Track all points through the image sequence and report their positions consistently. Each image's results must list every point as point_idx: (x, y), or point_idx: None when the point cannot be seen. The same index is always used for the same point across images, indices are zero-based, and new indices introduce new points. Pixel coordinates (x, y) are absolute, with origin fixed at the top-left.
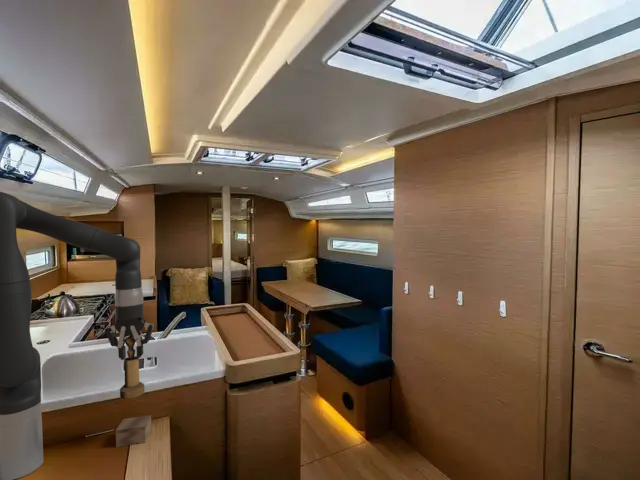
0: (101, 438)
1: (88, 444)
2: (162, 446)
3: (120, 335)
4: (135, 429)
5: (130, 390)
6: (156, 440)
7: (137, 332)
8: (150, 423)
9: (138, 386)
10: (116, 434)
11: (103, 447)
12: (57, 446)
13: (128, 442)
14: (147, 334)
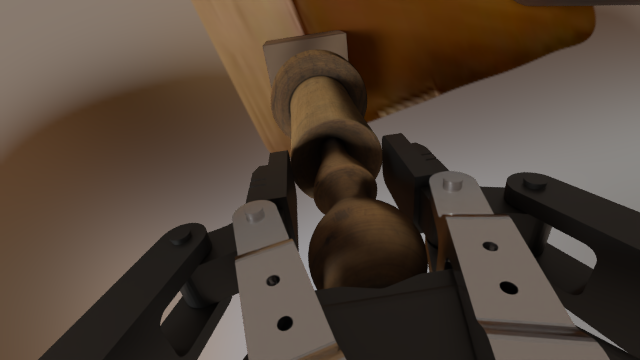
0: (395, 78)
1: (417, 53)
2: (206, 14)
3: (521, 261)
4: (290, 41)
5: (306, 59)
6: (240, 49)
7: (250, 343)
8: None
9: (282, 89)
10: (342, 32)
11: (372, 33)
12: (491, 54)
13: (309, 35)
14: (106, 322)
